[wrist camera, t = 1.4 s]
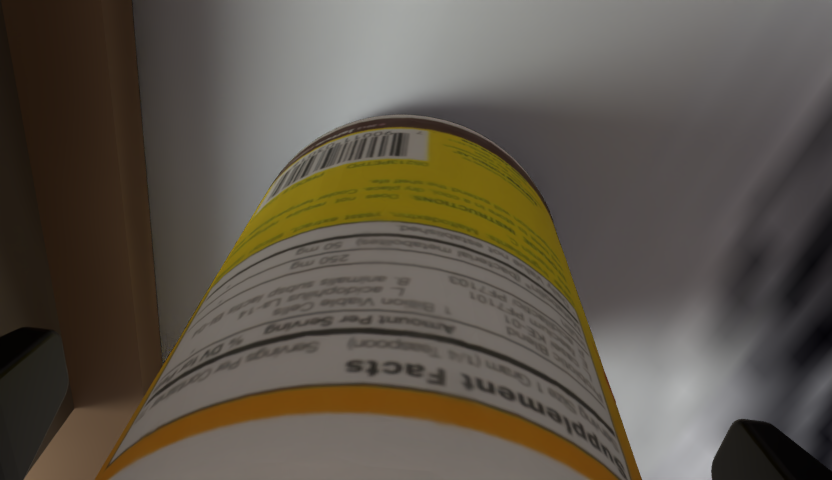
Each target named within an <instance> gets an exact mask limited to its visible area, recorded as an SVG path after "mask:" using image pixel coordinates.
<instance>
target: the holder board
mask: <svg viewBox="0 0 832 480" xmlns="http://www.w3.org/2000/svg"><path fill="white" fill-rule="evenodd" d="M21 327H38V328H45V329H52V330H55V331H57V332H58V333H59V335H60V336H61V339H62V343H63V349H64V354H65V360H66V365H67V371H68V378H69V382H68V389H67V392H66V395H65V397H64V400H63V402H62V404H61V406H60V408H59V410H58V412H57V414H56V416H55V418H54V420H53V422H52V424H51V426H50V428H49V430H48V432H47V434H46V436H45V438H44V440H43V442H42V444H41V446H40V448H39V450H38V452H37V454H36V456H35V458H34V460H33V462H32V464H31V466H30V468H29V470H28V472H27V474H26V476H25V478H24V480H95V478H96V476H97V475H98V473H99V471H100V470H101V468H102V466H103V464H104V463H105V461H106V459H107V458H108V456H109V454H110V453H111V451H112V449H113V448H114V446H115V444H116V443H117V441H118V439H119V438H120V436H121V434H122V433H123V431H124V429H125V428H126V426H127V424H128V423H129V421H130V419H131V418H132V416H133V414H134V413H135V411H136V409H137V408H138V406H139V404H140V403H141V401H142V399H143V397H144V396H145V394H146V392H147V391H148V389H149V387H150V386H151V384H152V382H153V381H154V379H155V377H156V376H157V374H158V373H159V371H160V369H161V368H162V355H161V343H160V331H159V319H158V307H157V295H156V283H155V271H154V260H153V248H152V236H151V224H150V212H149V200H148V188H147V176H146V164H145V152H144V140H143V128H142V117H141V105H140V93H139V81H138V69H137V57H136V45H135V33H134V21H133V9H132V0H0V337H1V336H3V335H5V334H7V333H10V332H12V331H14V330H16V329H19V328H21Z"/></svg>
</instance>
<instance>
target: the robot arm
mask: <svg viewBox="0 0 832 480" xmlns="http://www.w3.org/2000/svg"><path fill="white" fill-rule="evenodd" d="M68 382H69V378H68V371H67V365H66V360H65V354H64V349H63V343H62V339H61V336H60V335H59V333H58V332H57V331H55V330H52V329H45V328H38V327H21V328H19V329H16V330H14V331H12V332H10V333H7V334H5V335H3V336H1V337H0V480H24V478H25V476H26V474H27V472H28V470H29V468H30V466H31V464H32V462H33V460H34V458H35V456H36V454H37V452H38V450H39V448H40V446H41V444H42V442H43V440H44V438H45V436H46V434H47V432H48V430H49V428H50V426H51V424H52V422H53V420H54V418H55V416H56V414H57V412H58V410H59V408H60V406H61V404H62V402H63V400H64V397H65V395H66V392H67V389H68ZM711 473H712V480H832V471H831V470H829V469H828V468H827V467H826V466H824V465H823V464H822V463H820V462H819V461H818V460H817V459H815V458H814V457H813V456H812V455H810V454H809V453H808V452H806V451H805V450H804V449H803V448H801V447H800V446H799V445H798V444H796V443H795V442H794V441H792V440H791V439H790V438H789V437H787V436H786V435H785V434H784V433H782V432H781V431H780V430H778V429H777V428H776V427H775V426H773V425H772V424H770V423H767V422H763V421H756V420H748V419H738V420H736V421H735V422H733V423H732V425H731V426H730V428H729V430H728V432H727V434H726V436H725V438H724V440H723V442H722V444H721V446H720V448H719V450H718V451H717V453H716V455H715V457H714V460H713V463H712V470H711Z"/></svg>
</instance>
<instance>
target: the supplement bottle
mask: <svg viewBox="0 0 832 480" xmlns="http://www.w3.org/2000/svg"><path fill="white" fill-rule="evenodd" d="M95 480H642V479H641V476H640V473H639V470H638V467H637V464H636V461H635V458H634V455H633V452H632V449H631V447H630V444H629V441H628V438H627V435H626V432H625V429H624V426H623V423H622V420H621V417H620V414H619V411H618V408H617V406H616V401H615V399H614V396H613V393H612V391H611V388H610V385H609V382H608V379H607V377H606V374H605V372H604V369H603V366H602V363H601V360H600V357H599V354H598V351H597V348H596V345H595V342H594V339H593V336H592V333H591V330H590V327H589V324H588V322H587V319H586V316H585V313H584V310H583V307H582V305H581V302H580V299H579V296H578V293H577V290H576V288H575V285H574V282H573V279H572V276H571V273H570V270H569V267H568V264H567V261H566V258H565V255H564V252H563V250H562V247H561V244H560V241H559V238H558V235H557V233H556V230H555V227H554V223H553V219H552V217H551V214H550V211H549V209H548V206H547V205H546V203H545V201H544V199H543V197H542V195H541V194H540V192H539V190H538V189H537V187H536V185H535V184H534V182H533V181H532V179H531V178H530V177H529V175H528V174H527V172H526V171H525V170H524V169H523V168H522V167H521V166H520V164H519V163H518V162H517V161H516V160H515V159H514V158H513V157H512V156H510V155H509V154H508V153H507V152H506V151H505V150H503V149H502V148H501V147H499V146H498V145H497V144H495V143H494V142H492V141H491V140H489V139H487V138H486V137H484V136H482V135H481V134H479V133H477V132H475V131H473V130H471V129H468V128H466V127H464V126H461V125H458V124H455V123H452V122H449V121H446V120H441V119H437V118H432V117H427V116H417V115H385V116H377V117H371V118H367V119H362V120H358V121H355V122H352V123H349V124H346V125H343V126H341V127H338V128H336V129H334V130H332V131H330V132H328V133H326V134H324V135H322V136H321V137H319V138H317V139H316V140H315V141H313V142H312V143H310V144H309V145H308V146H306V147H305V148H304V149H302V150H301V151H300V152H299V153H298V154H297V155H296V156H295V157H294V158H293V159H292V160H291V161H290V162H289V163H288V164H287V165H286V166H285V167H284V169H283V170H282V171H281V172H280V174H279V175H278V176H277V178H276V179H275V180H274V182H273V183H272V185H271V186H270V188H269V190H268V191H267V193H266V194H265V196H264V198H263V199H262V201H261V203H260V204H259V206H258V208H257V209H256V211H255V213H254V214H253V216H252V218H251V219H250V221H249V223H248V224H247V226H246V227H245V229H244V231H243V232H242V234H241V236H240V237H239V239H238V241H237V242H236V244H235V246H234V247H233V249H232V251H231V252H230V254H229V256H228V257H227V259H226V261H225V262H224V264H223V266H222V267H221V269H220V271H219V272H218V274H217V275H216V277H215V279H214V280H213V282H212V284H211V286H210V287H209V289H208V291H207V292H206V294H205V296H204V297H203V299H202V301H201V302H200V304H199V306H198V307H197V309H196V311H195V312H194V314H193V316H192V317H191V319H190V321H189V323H188V324H187V326H186V328H185V329H184V331H183V333H182V335H181V336H180V338H179V340H178V342H177V343H176V345H175V346H174V348H173V350H172V351H171V353H170V354H169V356H168V358H167V359H166V361H165V363H164V364H163V366H162V368H161V369H160V371H159V373H158V374H157V376H156V377H155V379H154V381H153V382H152V384H151V386H150V387H149V389H148V391H147V392H146V394H145V396H144V397H143V399H142V401H141V403H140V404H139V406H138V408H137V409H136V411H135V413H134V414H133V416H132V418H131V419H130V421H129V423H128V424H127V426H126V428H125V429H124V431H123V433H122V434H121V436H120V438H119V439H118V441H117V443H116V444H115V446H114V448H113V449H112V451H111V453H110V454H109V456H108V458H107V459H106V461H105V463H104V464H103V466H102V468H101V470H100V471H99V473H98V475H97V476H96V478H95Z"/></svg>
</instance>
